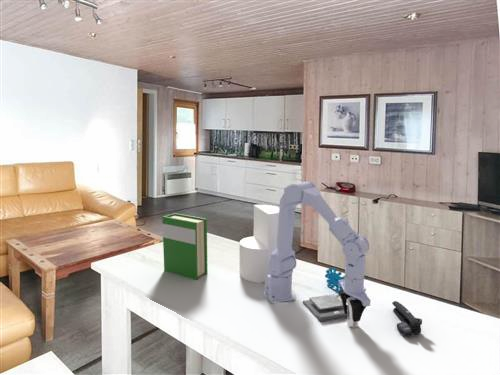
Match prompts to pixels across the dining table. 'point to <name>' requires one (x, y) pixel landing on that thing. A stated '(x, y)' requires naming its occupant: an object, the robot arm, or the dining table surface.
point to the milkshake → (350, 314)
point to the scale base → (325, 312)
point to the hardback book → (185, 245)
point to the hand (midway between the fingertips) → (351, 316)
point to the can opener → (407, 321)
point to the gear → (334, 278)
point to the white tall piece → (259, 244)
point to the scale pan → (326, 302)
